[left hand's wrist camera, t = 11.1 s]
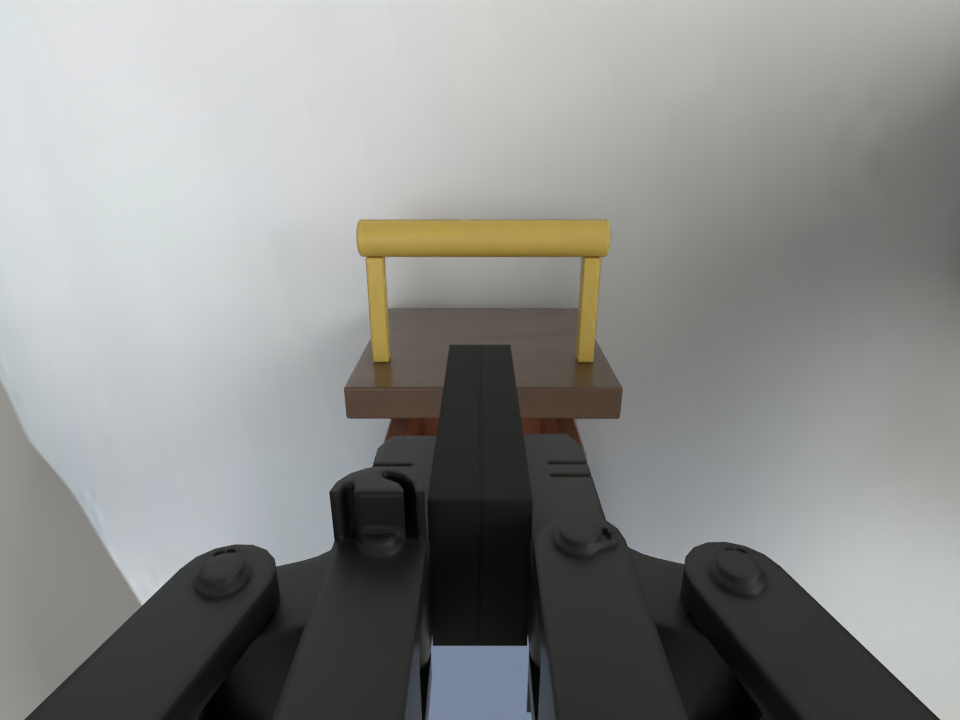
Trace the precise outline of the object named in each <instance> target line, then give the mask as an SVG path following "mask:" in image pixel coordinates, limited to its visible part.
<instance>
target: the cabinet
mask: <svg viewBox="0 0 960 720" xmlns="http://www.w3.org/2000/svg"><path fill="white" fill-rule="evenodd" d="M431 663H432V682H431V694H430V706H429V717H428V720H532V717H531V712H527V688H528V663H529V643H528V638H527V646H433V638H432V646H431Z"/></svg>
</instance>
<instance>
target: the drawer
mask: <svg viewBox="0 0 960 720" xmlns="http://www.w3.org/2000/svg"><path fill="white" fill-rule="evenodd" d="M609 246H610V225H609V222H608V220H359V221H358V225H357V247H358V251H359V254H360V256H362V257H367V258H366V270H367V284H368V298H369V312H370V327H371V339H370V341H369V343H368V345H367V347H366V348H365V350H364V352H363V354H362V356H361V358H360V360H359V362H358V363H357V365H356V367H355V369H354V371H353V373H352V375H351V377H350V378H349V380H348V382H347V384H346V386H345V388H344V393H345V404H346V415H347V418H391V421H390V424H389V427H388V431H387V434H386V437H385V440H384V443H385V442H386V441H387V440H388V439H389V438H390V437H392V436H437V429H438V422H439V415H440V408H441V401H442V394H443V387H444V380H445V373H446V366H447V359H448V352H449V345H511V352H512V359H513V366H514V373H515V380H516V387H517V394H518V401H519V408H520V415H521V422H522V429H523V434H568V435H569V436H571V437H572V438H573V439H574V440H575V441H576V442H577V443H578V444H580V445H581V446H582V448H583V451H584V454H585V457H586V453H585V450H584V447H583V444H582V441H581V438H580V435H579V432H578V429H577V426H576V423H575V420H574V419H618V418H619V417H620V411H621V401H622V391H623V389H622V386H621V385H620V383H619V381H618V379H617V378H616V376H615V374H614V372H613V370H612V369H611V367H610V365H609V363H608V361H607V360H606V358H605V356H604V354H603V352H602V351H601V349H600V347H599V345H598V343H597V342H596V340H595V332H596V318H597V305H598V292H599V278H600V265H601V258H600V257H605V256H606V255H607V254H608V251H609ZM385 257H582V261H581V277H580V292H579V308H578V309H388V304H387V287H386V270H385ZM384 443H383V444H384Z"/></svg>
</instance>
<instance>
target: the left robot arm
mask: <svg viewBox="0 0 960 720" xmlns="http://www.w3.org/2000/svg"><path fill="white" fill-rule="evenodd" d="M330 502H331V511H332V520H333V529H334V538H335V541H334V544H333V547H332V550H330V551H328V552H326V553H324V554H322V555H320V556H317V557H314V558H311V559H307V560H304V561H300V562H295V563H291V564H286V565H282V566H278V567H276V565H275V559H274V558H273V557H272V556H271V554H270V553H269V552H268V551H267V550H265V549H262V548H260V547H257V546H254V545H230V546H226V547H221V548H216V549H214V550H211V551H209V552H207V553H204V554H202V555H200V556H198V557H196V558H195V559H193V560H192V561H190V562H189V563H188V564H186V565H185V566H184V567H182V568H181V569H180V570H179V571H178V572H177V573H176V574H175V575H174V576H173V577H172V578H171V579H170V580H168V581H167V582H166V583H165V584H164V585H163V586H162V587H161V588H160V589H159V590H158V591H157V592H156V593H155V594H154V595H153V596H152V597H151V598H150V599H149V600H148V601H147V602H146V603H145V604H144V605H143V606H142V607H141V608H140V609H138V611H136V612H135V613H134V614H133V615H132V616H131V617H130V618H129V619H128V620H127V621H126V622H125V623H124V624H123V625H122V626H121V627H120V628H119V629H118V630H117V631H116V632H115V633H114V634H113V635H112V636H111V637H110V638H108V639H107V640H106V641H105V642H104V643H103V644H102V645H101V646H100V647H99V648H98V649H97V650H96V651H95V652H94V653H93V654H92V655H91V656H90V657H89V658H88V659H87V660H86V661H85V662H84V663H83V664H82V665H81V666H80V667H78V668H77V669H76V670H75V671H74V672H73V673H72V674H71V675H70V676H69V677H68V678H67V679H66V680H65V681H64V682H63V683H62V684H61V685H60V686H59V687H58V688H57V689H56V690H55V691H54V692H53V693H52V694H51V695H50V696H48V697H47V698H46V699H45V700H44V701H43V702H42V703H41V704H40V705H39V706H38V707H37V708H36V709H35V710H34V711H33V712H32V713H31V714H30V715H29V716H28V717H27V718H26V719H25V720H428V717H429V706H430V694H431V682H432V663H431V646H432V638H433V646H527V638H528V643H529V663H528V688H527V712H531V717H532V720H940V719H939V718H938V717H937V716H936V715H935V714H934V713H933V712H932V711H930V710H929V709H928V708H927V707H926V706H925V705H924V704H923V703H922V702H921V701H920V700H919V699H918V698H917V697H916V696H915V695H914V694H913V693H912V692H911V691H910V690H909V689H908V688H906V687H905V686H904V685H903V684H902V683H901V682H900V681H899V680H898V679H897V678H896V677H895V676H894V675H893V674H892V673H891V672H890V671H889V670H888V669H887V668H886V667H885V666H884V665H883V664H881V663H880V662H879V661H878V660H877V659H876V658H875V657H874V656H873V655H872V654H871V653H870V652H869V651H868V650H867V649H866V648H865V647H864V646H863V645H862V644H861V643H860V642H859V641H857V640H856V639H855V638H854V637H853V636H852V635H851V634H850V633H849V632H848V631H847V630H846V629H845V628H844V627H843V626H842V625H841V624H840V623H839V622H838V621H837V620H836V619H835V618H834V617H832V616H831V615H830V614H829V613H828V612H827V611H826V610H825V609H824V608H823V607H822V606H821V605H820V604H819V603H818V602H817V601H816V600H815V599H814V598H813V597H812V596H811V595H810V594H808V593H807V592H806V591H805V590H804V589H803V588H802V587H801V586H800V585H799V584H798V583H797V582H796V581H795V580H794V579H793V578H792V577H791V576H790V575H789V574H788V573H787V572H786V571H785V570H783V569H782V568H781V567H780V566H779V565H778V564H776V563H775V562H774V561H772V560H771V559H770V558H768V557H767V556H765V555H764V554H762V553H760V552H757V551H755V550H753V549H750V548H748V547H746V546H742V545H737V544H733V543H728V542H708V543H705V544H702V545H699V546H697V547H694V548H693V549H692V550H691V551H690V552H689V553H688V555H687V556H686V558H685V565H684V564H680V563H676V562H671V561H667V560H662V559H658V558H654V557H651V556H647V555H644V554H641V553H639V552H637V551H635V550H633V549H631V548H629V547H628V546H627V543H626V541H625V539H624V537H623V536H622V534H621V533H620V531H619V530H618V529H617V528H616V527H614V526H613V525H612V524H610V523H609V522H607V521H606V519H605V516H604V513H603V510H602V507H601V504H600V500H599V497H598V494H597V491H596V488H595V485H594V482H593V479H592V477H591V473H590V470H589V467H588V465H587V460H586V457H585V454H584V451H583V448H582V446H581V445H580V444H578V443H577V442H576V441H575V440H574V439H573V438H572V437H571V436H569V435H568V434H523V429H522V422H521V415H520V408H519V401H518V394H517V387H516V380H515V373H514V366H513V359H512V352H511V345H449V352H448V359H447V366H446V373H445V380H444V387H443V394H442V401H441V408H440V415H439V422H438V429H437V436H392V437H390V438H389V439H388V440H387V441H386V442H385V443H384V444H383V445H381V446H380V447H379V448H378V450H377V454H376V457H375V460H374V463H373V467H372V468H366V469H363V470H360V471H357V472H354V473H351V474H349V475H347V476H346V477H344V478H342V479H341V480H339V481H338V482H337V483H336V484H335V485H334V487H333V488H332V489H331V490H330Z"/></svg>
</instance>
